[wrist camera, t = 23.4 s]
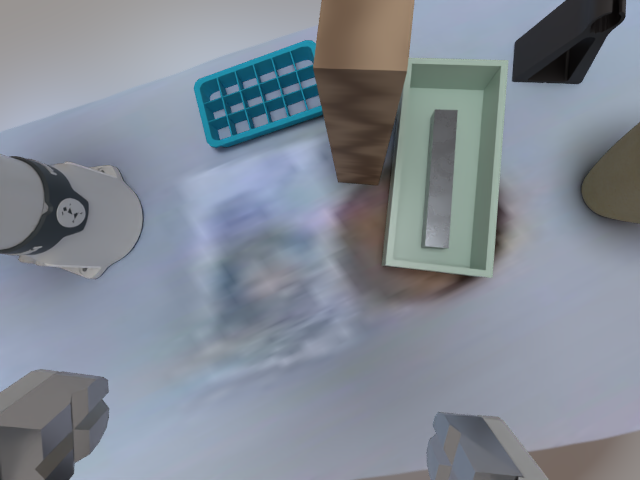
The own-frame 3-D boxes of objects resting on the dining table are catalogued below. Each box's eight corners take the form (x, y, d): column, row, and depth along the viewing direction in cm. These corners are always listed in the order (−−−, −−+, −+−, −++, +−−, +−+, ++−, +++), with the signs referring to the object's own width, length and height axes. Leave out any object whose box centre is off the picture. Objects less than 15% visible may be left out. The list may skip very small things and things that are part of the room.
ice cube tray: (201, 92, 50) (192, 81, 47) (316, 51, 48) (313, 37, 45) (217, 156, 48) (208, 149, 45) (336, 116, 46) (335, 106, 43)
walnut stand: (338, 182, 45) (313, 68, 19) (347, 106, 46) (334, -98, 20) (378, 185, 44) (407, 70, 19) (386, 108, 45) (424, -102, 19)
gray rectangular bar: (421, 247, 42) (425, 246, 39) (430, 118, 43) (434, 109, 41) (443, 249, 41) (448, 248, 39) (451, 119, 43) (457, 110, 41)
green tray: (381, 265, 43) (385, 265, 37) (400, 85, 45) (406, 57, 39) (472, 276, 41) (492, 277, 35) (487, 88, 44) (508, 60, 38)
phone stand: (581, 44, 43) (668, -42, 31) (579, 84, 42) (666, 12, 30) (514, 43, 44) (572, -41, 32) (511, 81, 43) (569, 11, 31)
